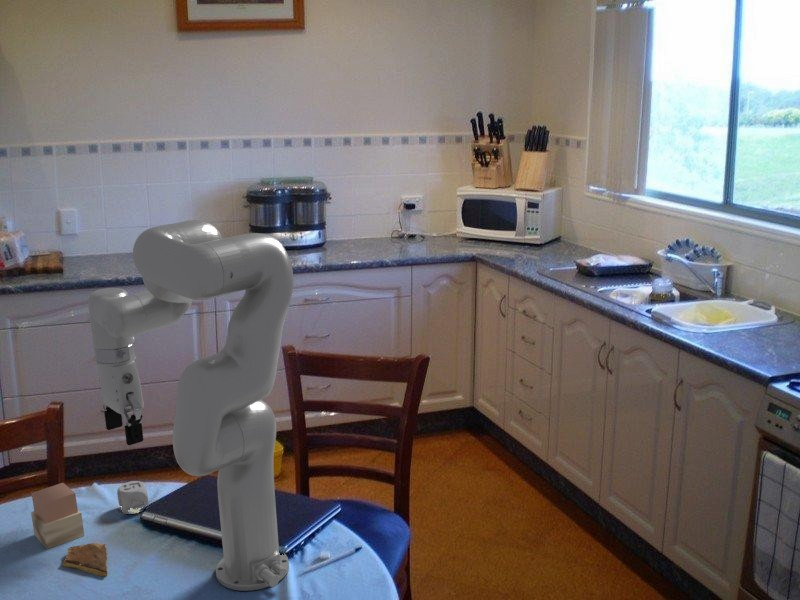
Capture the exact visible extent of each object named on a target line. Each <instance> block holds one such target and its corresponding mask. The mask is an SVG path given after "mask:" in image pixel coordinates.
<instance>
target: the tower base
mask: <svg viewBox="0 0 800 600" xmlns="http://www.w3.org/2000/svg"><path fill="white" fill-rule="evenodd" d="M30 514H31V520H32V521H31V522H32V527H33V528H32V529H33V534H34V536H35V538H37V540H38V541H39V542H40V543H41V544H42V545H43V546H44V547H45V548H46V550H50V549H52V548H56V547H58V546H60V545H64V544H66V543H69V542H71V541H74V540H77V539H79V538H80V539H81V538H83V537H85V531H84V530H85V529H84V523H83V522H84V521H83V516H82V512H81V511H80V510H79V509H78V512H77V513H74V514H72V515H69V516H66V517H63V518H60V519H58V520H55V521H52V522H49V523H45V522H44V521H43V520H42V519H41V518H40V517H39V516H38V515H37V514H36V513H35V512H34V510H33V511H31V512H30Z"/></svg>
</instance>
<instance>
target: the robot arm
mask: <svg viewBox="0 0 800 600" xmlns="http://www.w3.org/2000/svg"><path fill="white" fill-rule="evenodd" d="M132 247H133V249H132V259H133V263H134V266H135V269H136V270H137V272H138V273H139V274H140V276H141V278H142V282H143V284H144V286H145V288H146V289H147V290H144V291H140V292H136V293H132V294H129V293H128V291H127V290H125V289H124V288H120V287H106V288H105V287H104V288H99V289H96V290H94V291H92V292H91V293H90V294H89V295H88V297H87V306H88V314H89V322H90V330H91V337H92V339H91V340H92V347H93V353H94V354H93V355H94V362H95V364H96V365H98V380H99V391H100V397H101V400H102V402H103V404H102V408H103V410H104V411H103V412H104V421H105V429H106V430H108V431H112V430H114V429H117V428H121V427H123V424H124V423H123V419H124V422H125V425H124V433H125V444H126V445H127V446H132V445H136V444H139V443H142V442H143V441H144V433H143V432H144V431H143V425H142V423H143V409H144V408H145V403H144V397H143V390H142V385H141V384H142V383H141V379H140V375H139V370H138V367H137V363H136V361H135V360H137V353H136V343H135V342H136V341H135V337H137V336H140V335H143V334H145V333H146V334H147V333H149V332H153V331H156V330H160V329H164V328H166V327H169V326H172V325H173V324H175V323H177V322H178V321H179V320H180V319H181V318H182V317H183V316H184V315H185V314H186V313H188V311H189V310H190V308H191V307H192V303H193V300H194V301H207V300H212V299H215V298H219V297H220V298H221V297H223V296H227V295H231V294H235V293H238V292H241V291H245V292H244V294H243V296H242V297H241V298H240V300H239V302H238V303H237V305H236V307H235V308H234V309H233V312H232V314H231V315H230V318H229V322H228V327H227V334H226V335H227V336H226V340H225V344H224V347H223V348H222V349H221V350H220V351H218V352H216V353H213V354H210V355H208V356H205V357H201V358H199V359H196V360H194V361H193V362H191V363H189V365H187V366H186V367H185V369H184V370H183V371H182V373H181V375H180V376H179V379H178V384H177V390H176V397H175V398H176V399H175V411H174V418H173V428H172V429H173V430H172V446H173V447H172V449H173V453H174V457H175V461H176V462H177V464H178V466H179V467H180V469H182V471H184V472H185V473H186V474H187V475H189V476H193V477H203V476H207V475H210V474H212V473H215V472H218V474H217V482H216V483H217V486H216V487H217V498H218V499H217V501H218V508H219V509H218V510H219V521H220V529H221V530H220V531H221V544H222V555H223V557H222V558H221V559H220V560H219V562H218V563H217V564H216V567H215V576H216V579H217V581H218V582H219V584H221V585H222V586H223V587H225V588H228V589H229V590H234V591H241V592H245V591H246V592H247V591H257V590H263V589H265V588H268V587H271V588H274V587H276V586H277V585H278V584H279V582H280V581H281V580H283V579H284V578H285V577H286V575H287V573H288V572H289V570H290V561H289V557H288V556H287V554H286V553H284V555H283V554H282V555H280V553H279V550H280V547H279V534H278V522H277V521H278V519H277V508H276V507H277V505H276V495H275V494H276V492H275V490H276V489H275V475H274V474H275V473H274V454H275V453H274V452H275V447H276V446H275V445H276V440H277V439H276V438H277V422H276V421H277V420H276V416H275V414H274V411H273V410H272V408H271V407H270V405H269V404H268V403H267V402H266V401H264V400H263V399H265V398H267V397H268V396H269V395H270V394H271V393H272V392H273V391H272V390H273V388H274V385H275V381H276V376H277V371H278V370H277V369H278V364H279V357H280V350H281V344H282V339H283V337H282V336H283V330H284V326H285V325H284V324H285V321H286V318H287V315H288V312H289V309H290V305H291V300H292V296H293V292H294V281H295V280H294V269H293V266H292V262H291V258H290V256H289V254H288V252H287V250H286V248H285V246H284V245H283V244H282V243H281V242H280V241H279V240H278V239H277V238H276V237H274V236H272V235H269V234H267V233H261V232H260V233H257V232H254V233H251V232H250V233H245V234H238V235H233V236H228V237H223V236H222V234H221V233H220V230H218V229H217V227H216V226H214V225H213V224H212V223H209V222H207V221H203V220H197V219H196V220H195V219H193V220H191V219H190V220H185V221H179V222H174V223H170V224H169V223H168V224H164V225H159V226H153V227H149V228H148V229H145V230H144V231H142V232H141V233H140V234H139V235H138V236H137V238H136V240H135V241H134V244H133V246H132ZM130 414H131V415H130ZM129 415H130V417H129Z"/></svg>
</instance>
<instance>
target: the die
mask: <svg viewBox="0 0 800 600" xmlns="http://www.w3.org/2000/svg"><path fill="white" fill-rule="evenodd" d="M116 495H117V500H118V504H119V505H118V506H119V507H120V506H122V511H123V513H122V514H124V515H126V514H129V512H128V510H130V508H133V509H136V508H137V509H138V508H142V507H145V506H146V505H148V504H150V502H149V501H150V500H149V495H148V491H147V487H146V485H145V483H144V482H143V481H140V480H132V481H128V482H125V483H122V484H121V485H119V487H118V488H117V493H116ZM148 506H149V505H148Z"/></svg>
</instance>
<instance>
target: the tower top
mask: <svg viewBox="0 0 800 600" xmlns="http://www.w3.org/2000/svg"><path fill="white" fill-rule="evenodd" d="M31 498H32V504H33V505H32V506H33V511H34V512H35V513H36V514H37V515H38V516H39V517H40V518H41V519H42V520H43V521H44V522H45V523H49V522H52V521H55V520H58V519H60V518H63V517H66V516H69V515H72V514H74V513H77V512H78V510H79V509H78V504H77V503H78V502H77V496H76V492H75V490H73V489H71V488H70V487H69V486H68V485H66V483H64V482H61V483H58V484H54V485H52V486H49V487H46V488H42V489H39V490H37V491H33V492H31Z"/></svg>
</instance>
